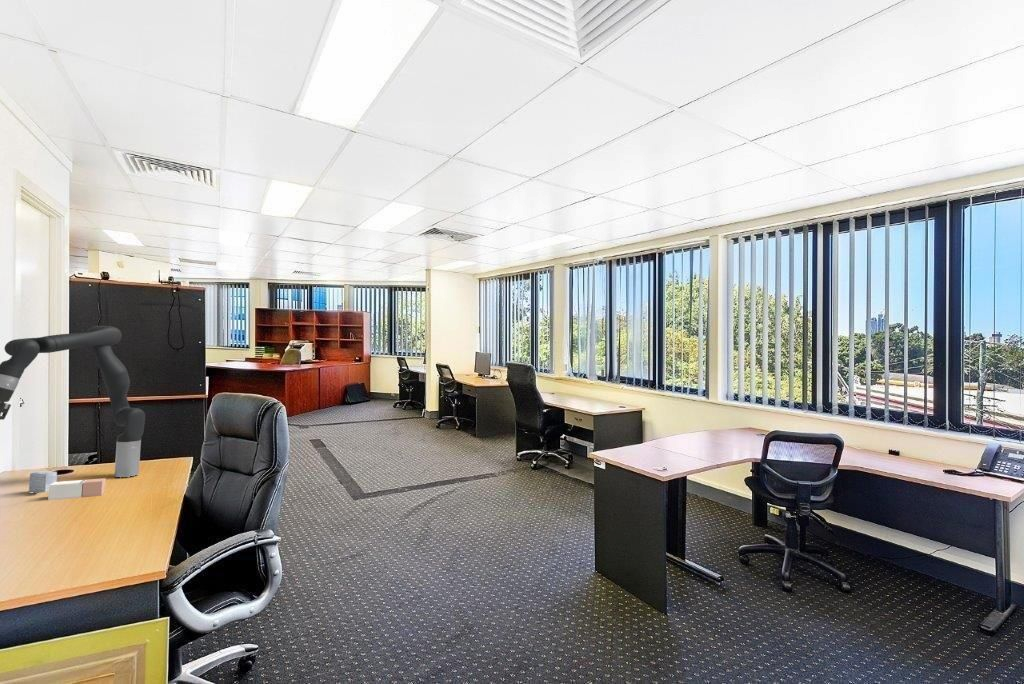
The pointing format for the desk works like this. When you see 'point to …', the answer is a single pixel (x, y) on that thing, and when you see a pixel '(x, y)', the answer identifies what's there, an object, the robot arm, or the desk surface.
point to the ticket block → (66, 489)
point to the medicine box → (41, 481)
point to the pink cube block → (93, 487)
